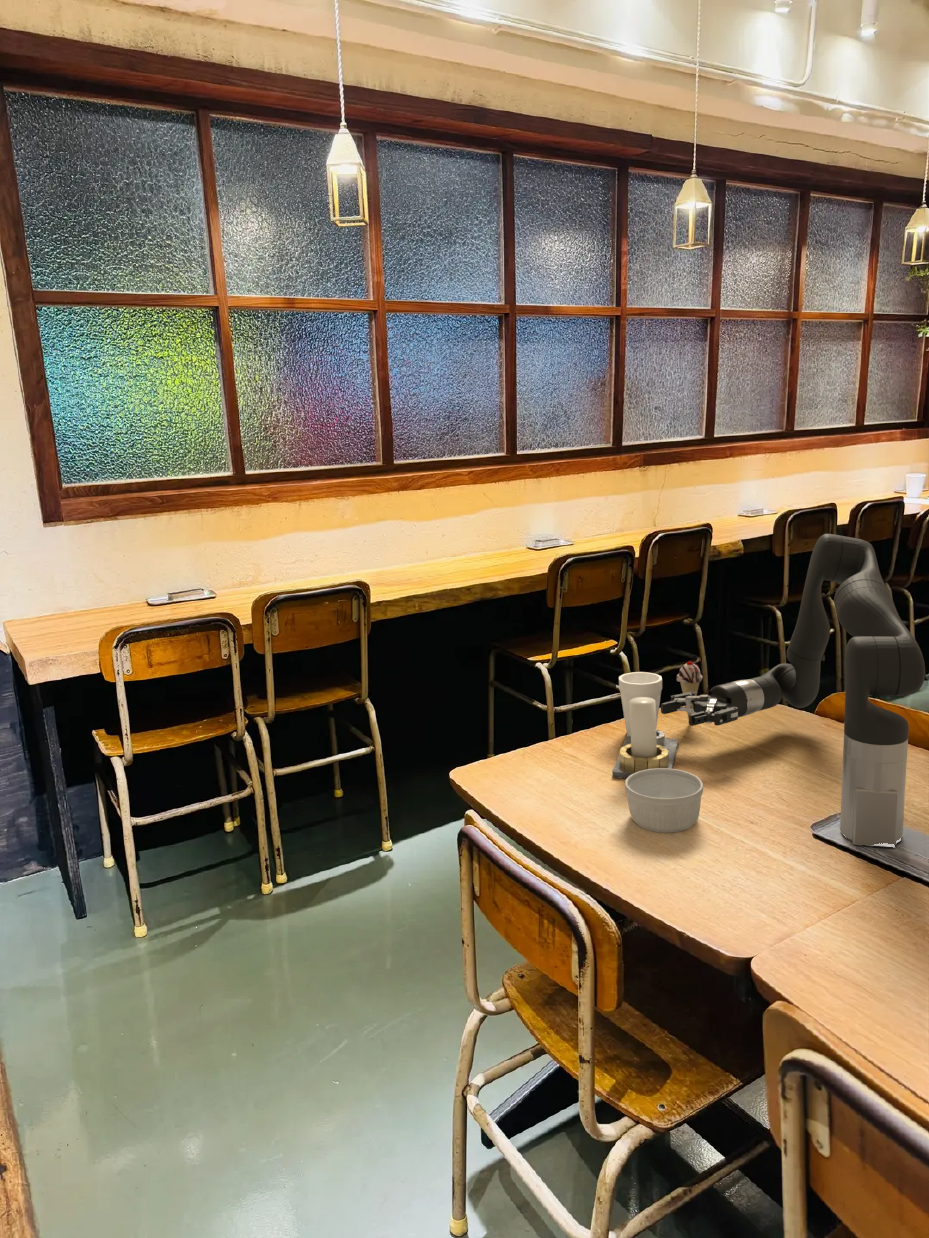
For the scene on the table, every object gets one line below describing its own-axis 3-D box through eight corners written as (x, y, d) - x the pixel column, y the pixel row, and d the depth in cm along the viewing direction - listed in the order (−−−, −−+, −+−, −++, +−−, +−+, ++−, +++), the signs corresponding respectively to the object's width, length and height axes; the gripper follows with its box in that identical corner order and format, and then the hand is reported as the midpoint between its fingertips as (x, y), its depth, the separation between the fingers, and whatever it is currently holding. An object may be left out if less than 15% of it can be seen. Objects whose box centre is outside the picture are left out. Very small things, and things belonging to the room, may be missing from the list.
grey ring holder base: (669, 781, 163) (669, 763, 162) (612, 777, 166) (612, 759, 165) (678, 744, 181) (678, 727, 180) (626, 741, 185) (626, 725, 184)
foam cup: (631, 724, 195) (630, 670, 192) (669, 730, 189) (668, 674, 187) (612, 737, 187) (611, 681, 184) (651, 744, 182) (651, 686, 179)
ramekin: (618, 831, 144) (617, 793, 143) (633, 799, 156) (632, 764, 155) (698, 841, 139) (698, 802, 138) (707, 807, 151) (707, 771, 150)
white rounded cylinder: (655, 768, 166) (653, 705, 163) (630, 766, 168) (627, 704, 165) (658, 758, 171) (656, 697, 168) (633, 757, 172) (631, 696, 169)
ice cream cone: (671, 722, 194) (671, 660, 191) (691, 718, 196) (691, 656, 193) (688, 730, 189) (687, 665, 185) (708, 725, 191) (708, 661, 188)
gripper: (712, 674, 183) (652, 688, 176) (761, 690, 171) (699, 706, 164) (712, 707, 185) (653, 722, 178) (761, 725, 172) (699, 742, 165)
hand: (675, 714), depth 171 cm, fingers open, 8 cm apart
